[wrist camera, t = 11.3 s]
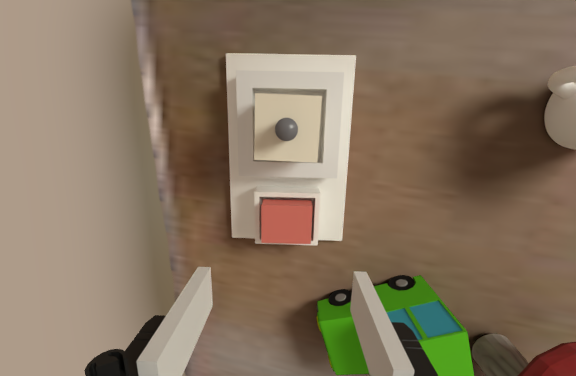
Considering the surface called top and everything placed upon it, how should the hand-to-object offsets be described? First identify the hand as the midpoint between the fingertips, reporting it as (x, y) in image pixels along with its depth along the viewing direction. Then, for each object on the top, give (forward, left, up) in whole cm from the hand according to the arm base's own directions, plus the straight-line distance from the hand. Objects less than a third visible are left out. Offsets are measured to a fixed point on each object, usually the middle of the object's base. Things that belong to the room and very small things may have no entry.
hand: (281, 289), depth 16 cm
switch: (0, 0, -12) cm, 12 cm away
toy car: (+13, +11, -16) cm, 23 cm away
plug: (-9, 0, -15) cm, 17 cm away
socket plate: (-7, 0, -15) cm, 17 cm away
